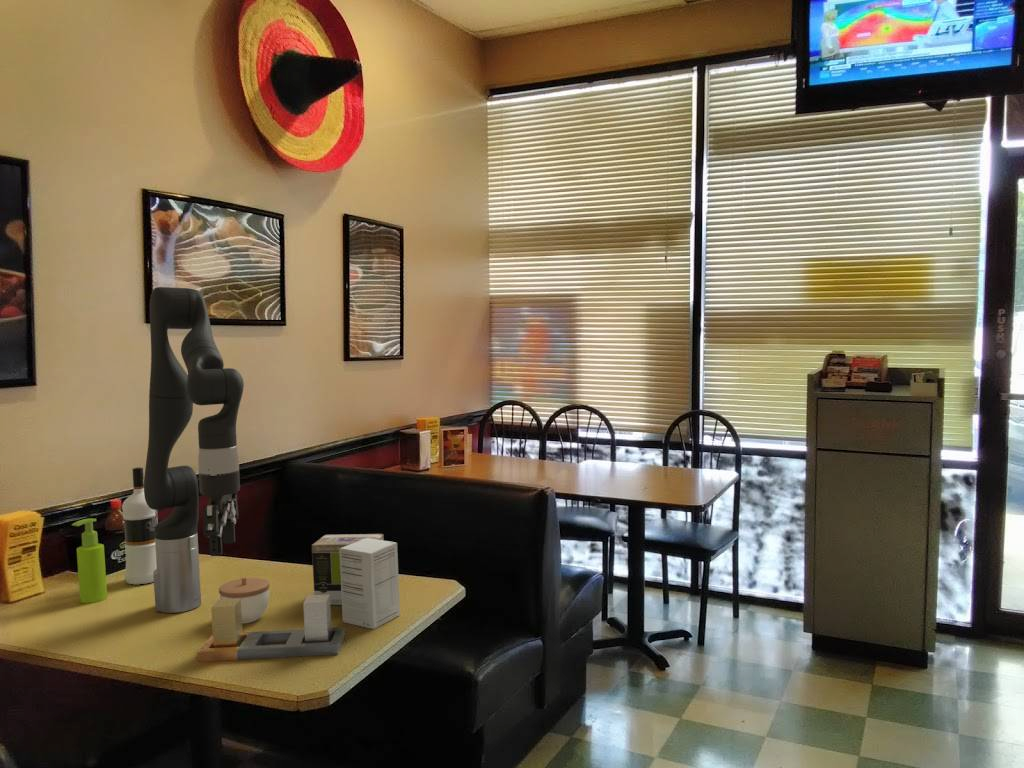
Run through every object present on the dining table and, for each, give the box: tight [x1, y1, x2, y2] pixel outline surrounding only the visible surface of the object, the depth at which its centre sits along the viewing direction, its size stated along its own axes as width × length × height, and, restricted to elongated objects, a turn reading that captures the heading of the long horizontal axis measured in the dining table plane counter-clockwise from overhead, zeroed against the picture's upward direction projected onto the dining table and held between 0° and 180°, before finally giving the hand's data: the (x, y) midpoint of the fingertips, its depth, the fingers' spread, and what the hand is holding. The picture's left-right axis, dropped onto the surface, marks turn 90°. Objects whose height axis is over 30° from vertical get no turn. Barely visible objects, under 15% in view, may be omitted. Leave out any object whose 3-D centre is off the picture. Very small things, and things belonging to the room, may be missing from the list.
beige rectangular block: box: [210, 599, 243, 648], centre depth 156 cm, size 4×4×10 cm
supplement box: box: [339, 538, 401, 630], centre depth 171 cm, size 10×9×17 cm
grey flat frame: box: [197, 626, 346, 663], centre depth 156 cm, size 27×9×2 cm, turn 94°
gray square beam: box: [302, 594, 332, 643], centre depth 157 cm, size 4×4×10 cm
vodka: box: [121, 467, 159, 586], centre depth 202 cm, size 9×9×30 cm
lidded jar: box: [218, 576, 270, 625], centre depth 173 cm, size 11×11×9 cm
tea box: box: [311, 533, 385, 606], centre depth 184 cm, size 15×10×15 cm, turn 84°
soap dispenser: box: [71, 517, 108, 604], centre depth 188 cm, size 6×7×20 cm
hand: (222, 549), depth 154 cm, fingers open, 8 cm apart
